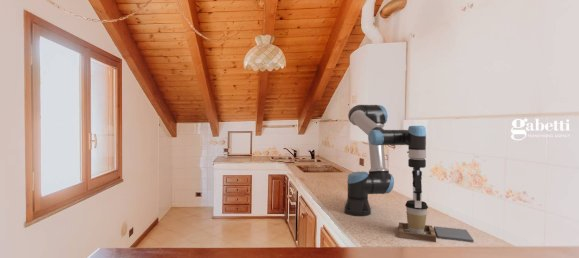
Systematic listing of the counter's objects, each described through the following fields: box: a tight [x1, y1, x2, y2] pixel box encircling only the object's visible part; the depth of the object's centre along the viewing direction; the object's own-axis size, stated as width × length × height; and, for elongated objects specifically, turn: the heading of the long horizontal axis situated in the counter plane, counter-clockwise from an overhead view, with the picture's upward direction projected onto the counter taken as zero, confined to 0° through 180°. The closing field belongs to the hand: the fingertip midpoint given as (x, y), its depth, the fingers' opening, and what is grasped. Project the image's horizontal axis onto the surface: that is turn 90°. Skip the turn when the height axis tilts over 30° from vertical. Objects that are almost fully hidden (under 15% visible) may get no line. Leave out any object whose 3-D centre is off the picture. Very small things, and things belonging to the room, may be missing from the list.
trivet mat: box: [433, 226, 474, 243], centre depth 140 cm, size 14×14×1 cm
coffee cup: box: [404, 199, 429, 234], centre depth 141 cm, size 10×10×15 cm
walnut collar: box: [398, 222, 437, 243], centre depth 141 cm, size 15×15×2 cm
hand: (416, 204), depth 140 cm, fingers open, 13 cm apart
